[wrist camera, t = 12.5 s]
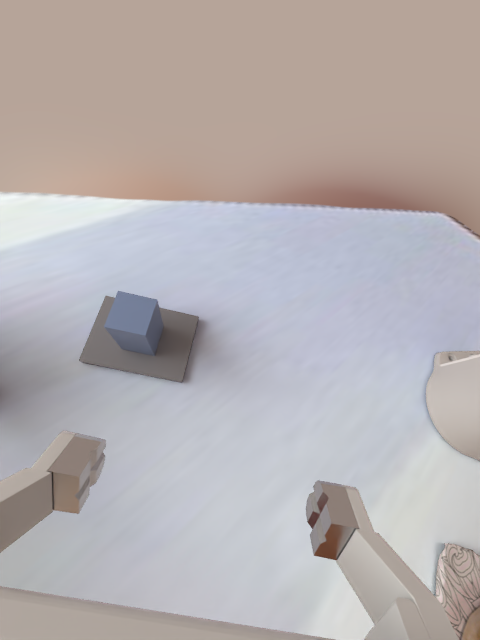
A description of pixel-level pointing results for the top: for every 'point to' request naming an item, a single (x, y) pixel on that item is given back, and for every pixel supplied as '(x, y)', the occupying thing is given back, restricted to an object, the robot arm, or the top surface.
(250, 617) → the top surface
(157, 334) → the blue rectangular block
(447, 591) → the cookie jar
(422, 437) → the top surface
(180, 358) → the marker stand
